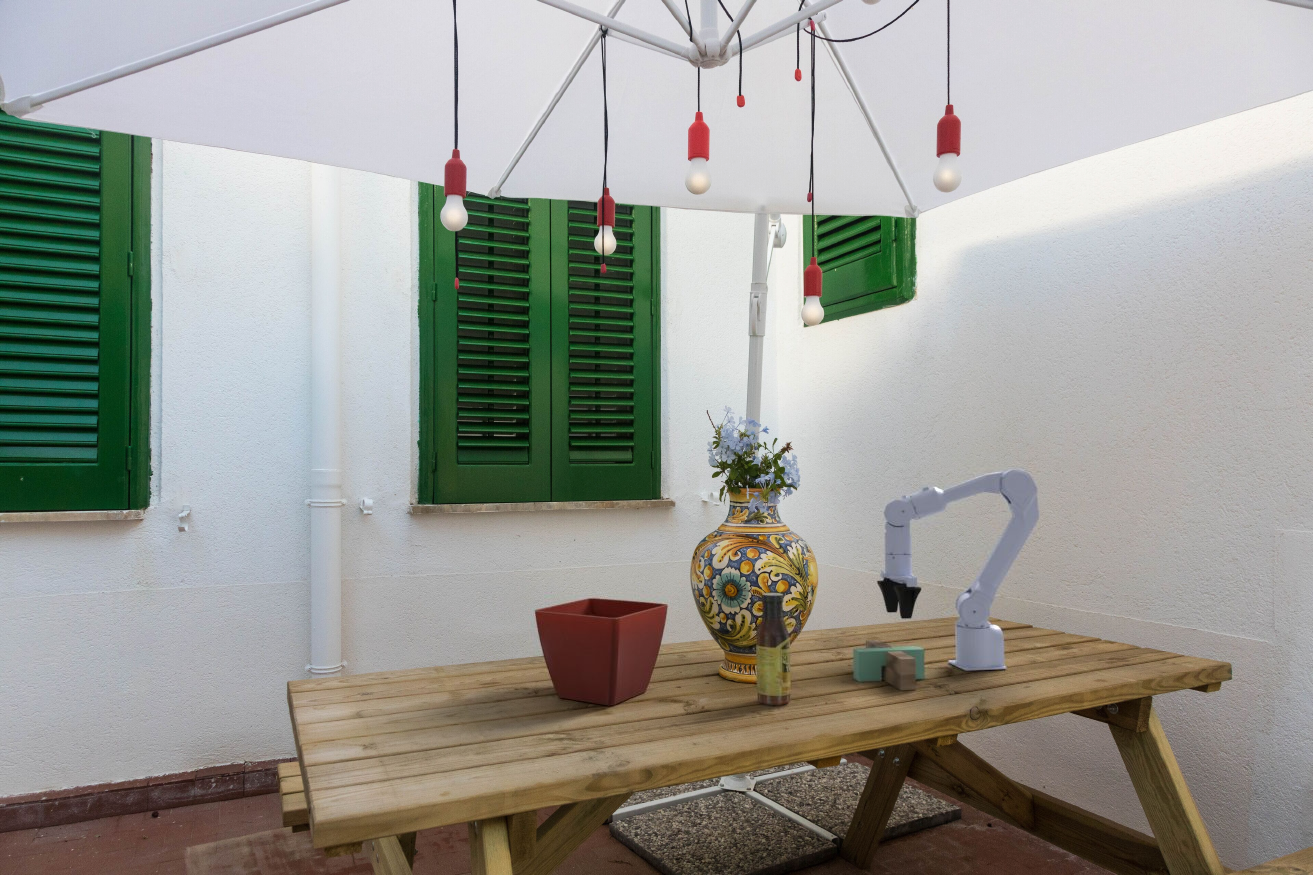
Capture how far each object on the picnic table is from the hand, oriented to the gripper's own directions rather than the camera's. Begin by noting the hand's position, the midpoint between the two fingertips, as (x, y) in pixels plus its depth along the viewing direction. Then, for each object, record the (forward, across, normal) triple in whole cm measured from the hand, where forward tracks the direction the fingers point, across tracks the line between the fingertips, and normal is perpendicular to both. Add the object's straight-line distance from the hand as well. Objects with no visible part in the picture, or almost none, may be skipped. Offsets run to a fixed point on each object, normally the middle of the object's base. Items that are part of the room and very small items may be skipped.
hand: (898, 615), depth 187 cm
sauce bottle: (+11, +26, -36) cm, 46 cm away
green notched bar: (+10, +13, -8) cm, 18 cm away
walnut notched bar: (+10, +13, -8) cm, 18 cm away
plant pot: (+11, +16, -67) cm, 70 cm away
